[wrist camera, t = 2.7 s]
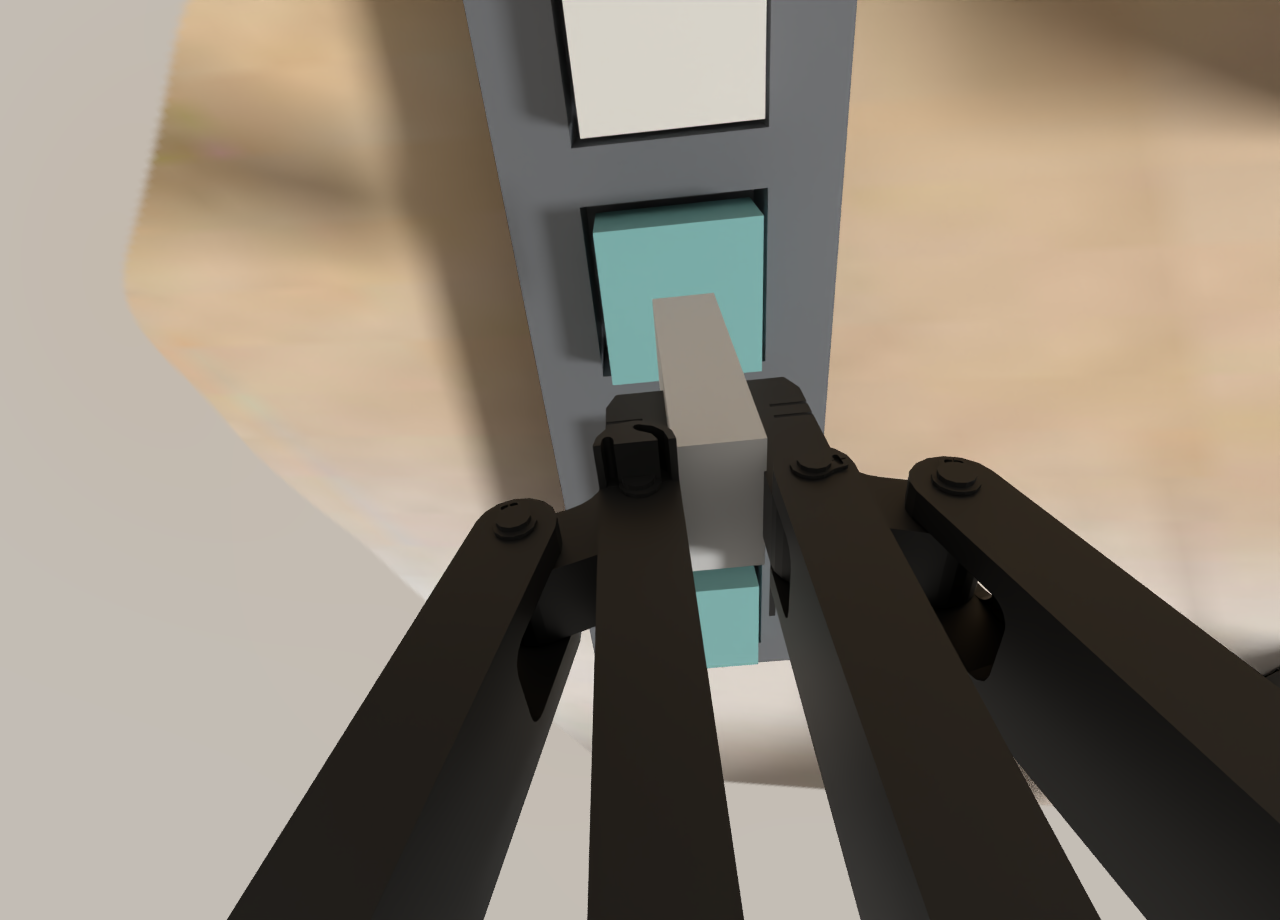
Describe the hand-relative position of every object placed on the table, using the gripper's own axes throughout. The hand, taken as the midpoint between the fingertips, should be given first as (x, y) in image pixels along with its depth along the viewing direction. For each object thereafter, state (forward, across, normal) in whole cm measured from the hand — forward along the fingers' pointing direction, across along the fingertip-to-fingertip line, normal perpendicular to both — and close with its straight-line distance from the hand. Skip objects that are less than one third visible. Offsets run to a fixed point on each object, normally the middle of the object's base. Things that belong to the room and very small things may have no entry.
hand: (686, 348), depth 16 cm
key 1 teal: (+6, 0, +15) cm, 16 cm away
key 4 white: (+6, 0, -7) cm, 9 cm away
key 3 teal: (+6, 0, 0) cm, 6 cm away
